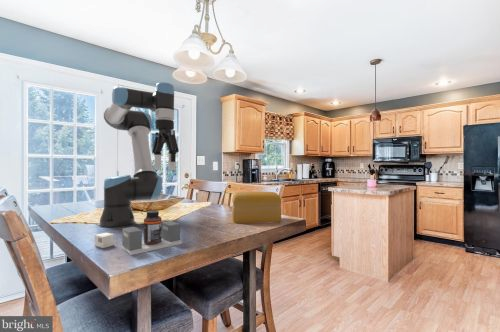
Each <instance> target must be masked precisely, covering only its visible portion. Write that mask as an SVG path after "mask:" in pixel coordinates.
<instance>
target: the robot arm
mask: <svg viewBox="0 0 500 332" xmlns="http://www.w3.org/2000/svg"><path fill="white" fill-rule="evenodd" d="M154 91H155V92H151V91H147V90H145V91H144V90H140V89H134V88H128V87H120V86H114V87H113V88H112V92H111V101H112V103H111V105H110V106H108V107H107V108H106V109H105V110H104V112H103V119H104V121H105V123H106V124H107V125H108V126H110V127H111V128H113V129H115V130H118V131H126V132H127V134H128V135H129V137H131V144H132V153H133V159H134V160H133V162H134V168H135V173H134V174H133V175H132V176H131V174H124V175H123V174H122V175H114V176H113V175H112V176H109V177H106V178H105V179H104V182H103V210H102V213H101V215H100V219H99V226H101V227H109V228H111V227H112V228H117V227H123V226H128V225H132V224H134V223H135V215H134V212H133V209H132V207H131V202H134V201H135V202H136V201H145V200H146V201H148V200H149V201H151V200H157V199H158V198H159V197H160V196H161V193H162V191H163V179H162V177H160V176H158V173H157V171H155V170H162V149H163V148H164V145H165V144H166V147H167V150H168V153H167V154H168V165H167V167H168V169H167V170H168V171H176V156H177V153H179V151H180V150H179V149H180V148H179V146H178V142H177V137H176V130H174V129H175V121H174V120H175V87H174V85H173V84H171V83H169V82H163V81H161V82H158V83H156V85H155V90H154ZM132 108H138V109H144V110H145V109H147V110H150V111H152V112H154V113H155V119H156V120H155V129H156V130H158V131H157V132H155V136H154V141H153V146H152V151H151V148H150V142H149V134H150V133H151V132H152V129H153V120H152V116H151V114H150V113H149V112H147V111H142V110H139V111H138V110H132ZM151 153H152V154H153V155H154V168H153V163H152V161H153V160H152V155H151Z"/></svg>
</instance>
